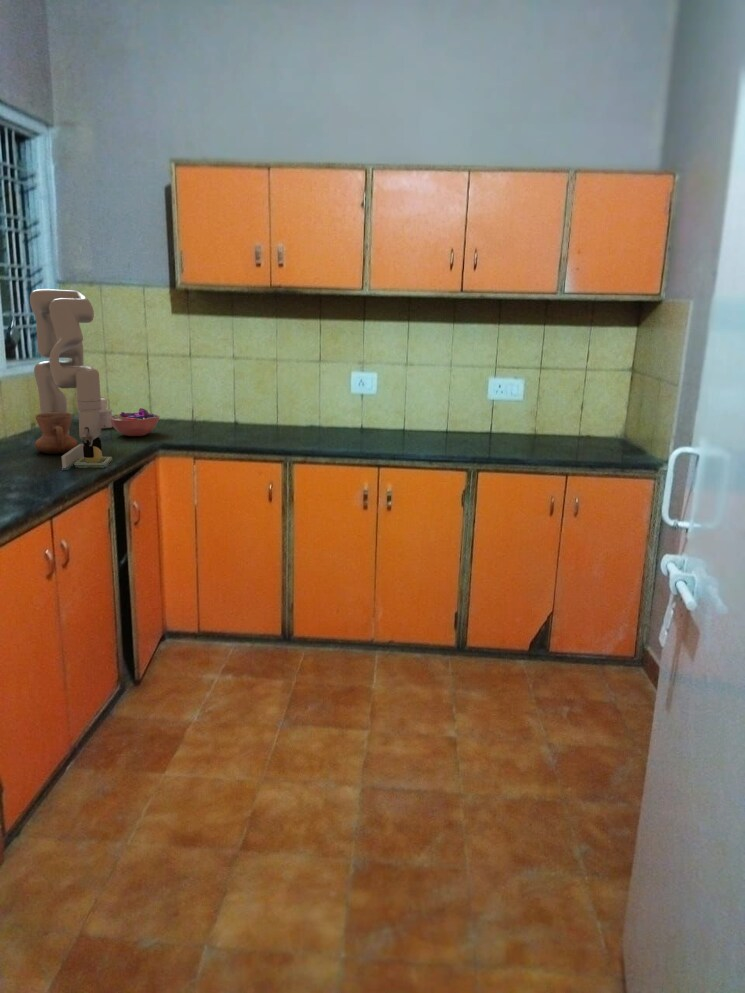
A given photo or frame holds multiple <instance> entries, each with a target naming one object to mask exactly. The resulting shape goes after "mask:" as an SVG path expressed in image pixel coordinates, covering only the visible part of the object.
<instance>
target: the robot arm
mask: <svg viewBox="0 0 745 993" xmlns="http://www.w3.org/2000/svg"><path fill="white" fill-rule="evenodd" d="M29 304H30V307H31V310H32V313H33V315H34V319H35V322H36V342H37V343H36V344H37V352H38V354H39V356H40V357H42V358H45V359H49V360H43V361H40V362H37V363H36V364H35V365H34V369H33V373H34V379H35V381H36V385H37V386H36V387H37V389H38V397H39V399H38V400H39V406H40V409H39V411H40V414H41V413H48V412H51V413H54V412H63V413H68V406H67V405H68V404H67V396H66V395H65V393H64V392H63V391H62V390H61V389H76V401H77V402H76V403H77V404H76V405H77V411H78V412H79V413H78V428H79V429H78V431H79V432H78V433H79V436H78V437H79V439H80V440H82V444H83V453H84V457H85V458H93V457H94V451H93V446H95V447H98V448H99V449H100V450H101V452H102V450H103V448H102V437H101V434H102V428H101V421H100V413H99V410H101V396H102V395H101V384H100V382H101V381H100V372H99V371H98V370H97V369H95V368H94V367H93V366H90V365H84V344H83V342H84V341H83V340H84V336H83V333H82V329H81V323H82V324H88V323H89V324H90V323H92V322H93V320H94V317H95V313H94V307H93V305H92V303H91V301H90V300H89V299H88V298H87V297H86V296H85V295H84V294H83V293H81V292H80V291H78V290H72V289H53V288H52V289H49V288H43V289H42V288H41V289H39V288H38V289H35V290H33V291H31V292H30V295H29ZM60 359H69V360H60ZM68 434H69V435H70V430H69V431H68Z"/></svg>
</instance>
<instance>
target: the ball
mask: <svg viewBox="0 0 745 993" xmlns="http://www.w3.org/2000/svg"><path fill="white" fill-rule="evenodd" d="M93 451H94V457H93V458H85V457H84V458H85V460H86V461H87V462H89V463H97V462H99V461H100V460H101V458H102V457H103V452H102V451H101V450H100V449H99V448H98V447H95V446H93Z"/></svg>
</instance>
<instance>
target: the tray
mask: <svg viewBox="0 0 745 993" xmlns="http://www.w3.org/2000/svg"><path fill="white" fill-rule="evenodd" d="M84 460H85V458H84V456H83V457H81V458H80V459H79V460H77V461H76V462H75V463H74V465H106V464H107V463H108V462H109V461H111V460H112V461H113V457H112V456H102V458H101V460H105V461H104V462H102V463H86V462H82V461H84ZM74 465H73V466H74Z"/></svg>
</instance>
